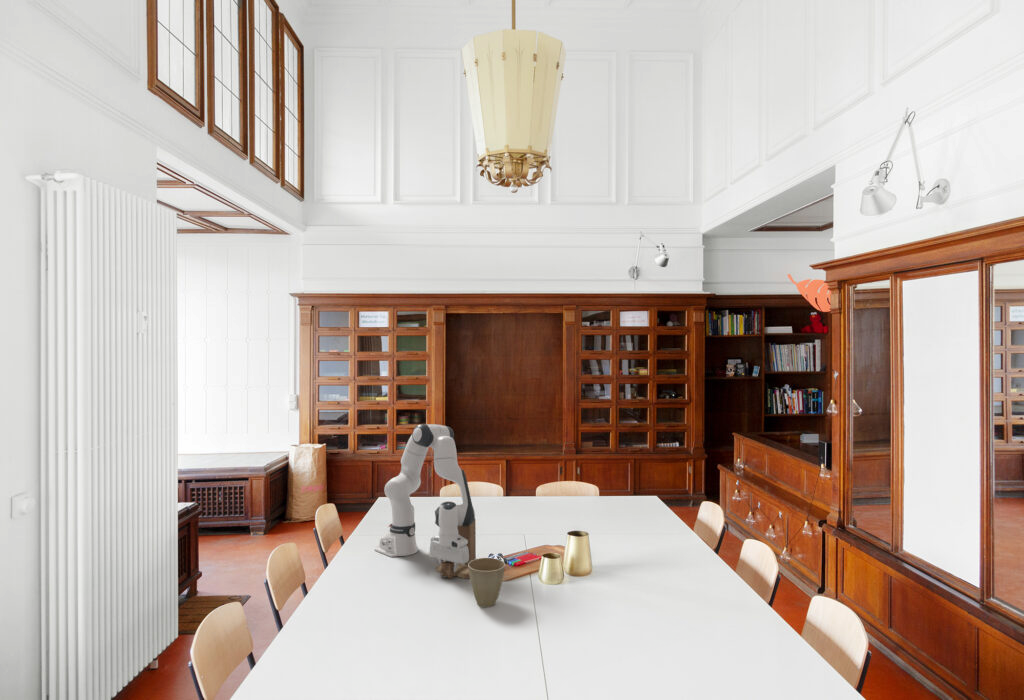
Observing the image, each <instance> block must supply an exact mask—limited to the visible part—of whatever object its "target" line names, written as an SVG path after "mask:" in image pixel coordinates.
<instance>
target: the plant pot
mask: <svg viewBox="0 0 1024 700" xmlns="http://www.w3.org/2000/svg"><path fill="white" fill-rule="evenodd" d="M468 568H469V575H470V579H469V581H470V584H471V589H472V593H473V595H474V598H475V602H476V604H477V605H478V606H479V607H483V608H491V607H494V606H495V605H496V604H497V601H498V599H499V594H500V591H501V588H502V584H503V580H504V574H505V569H506V563H505V562H504V561H503V560H501V559H499V558H494V557H480V558H475V560H472V561H471V562H469V564H468Z"/></svg>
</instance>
